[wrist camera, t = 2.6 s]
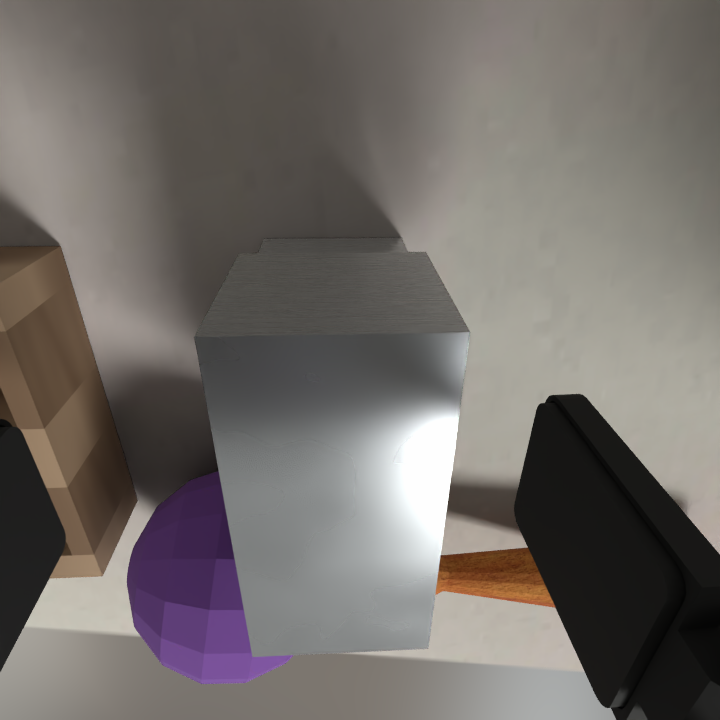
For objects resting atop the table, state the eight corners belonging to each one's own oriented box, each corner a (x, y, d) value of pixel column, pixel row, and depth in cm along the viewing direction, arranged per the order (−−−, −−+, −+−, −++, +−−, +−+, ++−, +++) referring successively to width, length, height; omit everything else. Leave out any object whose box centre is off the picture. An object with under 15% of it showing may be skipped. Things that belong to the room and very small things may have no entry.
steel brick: (403, 210, 13) (470, 332, 6) (391, 435, 16) (428, 648, 10) (261, 211, 12) (194, 336, 6) (282, 438, 16) (252, 657, 10)
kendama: (687, 695, 18) (111, 716, 14) (611, 545, 23) (158, 525, 18) (817, 633, 15) (86, 634, 10) (697, 468, 19) (152, 420, 15)
